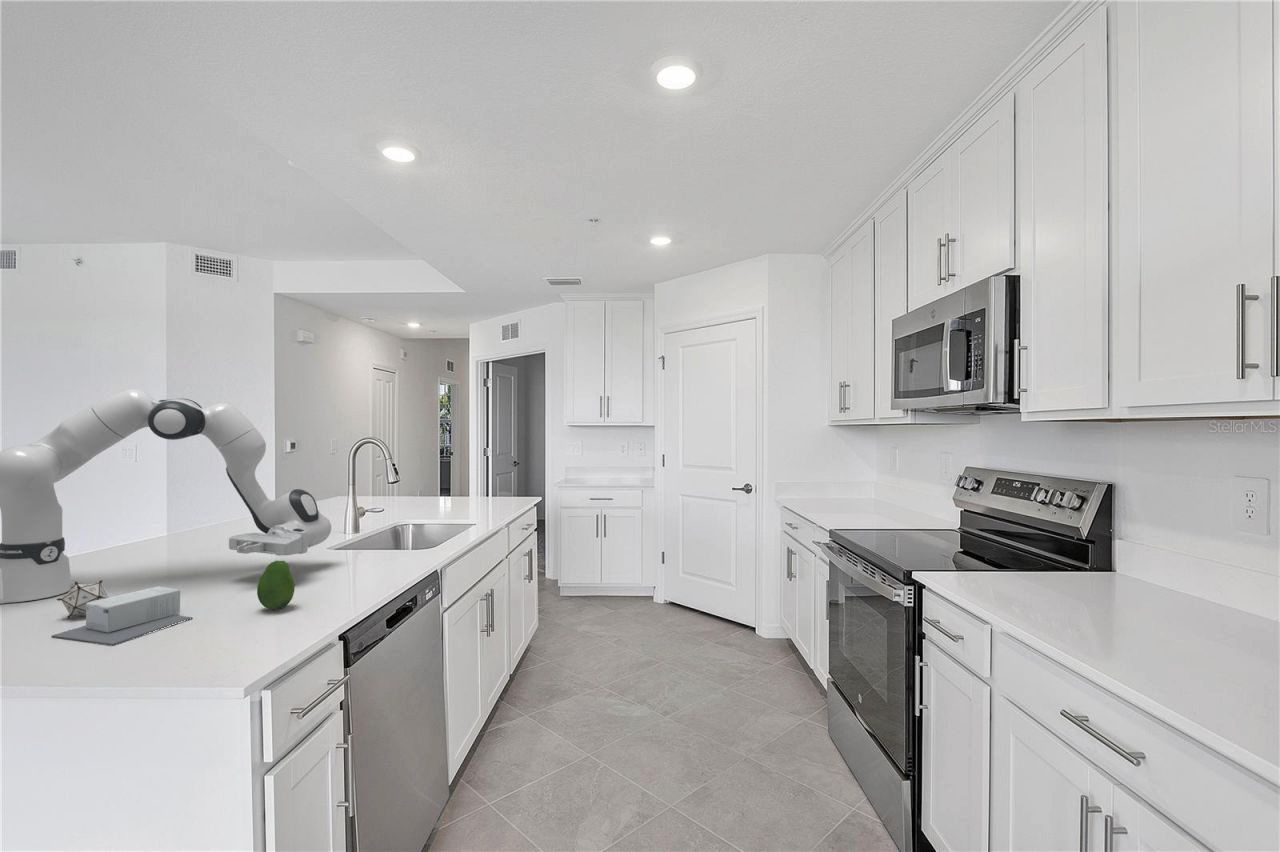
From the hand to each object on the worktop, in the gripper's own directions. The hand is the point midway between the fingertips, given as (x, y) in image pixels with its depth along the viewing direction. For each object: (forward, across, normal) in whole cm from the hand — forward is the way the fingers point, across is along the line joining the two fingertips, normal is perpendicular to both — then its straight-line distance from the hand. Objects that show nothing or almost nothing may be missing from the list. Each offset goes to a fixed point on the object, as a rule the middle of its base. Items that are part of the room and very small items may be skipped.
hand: (241, 550), depth 161 cm
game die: (+26, -16, +11) cm, 33 cm away
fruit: (+10, +22, +11) cm, 26 cm away
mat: (+30, +1, +10) cm, 31 cm away
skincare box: (+19, 0, +7) cm, 20 cm away
